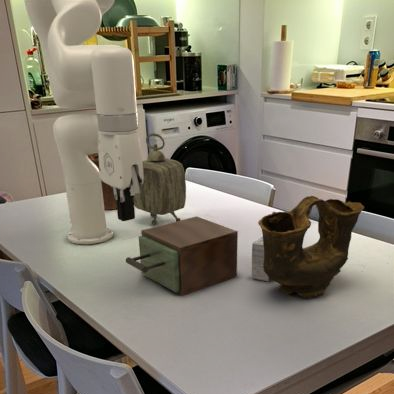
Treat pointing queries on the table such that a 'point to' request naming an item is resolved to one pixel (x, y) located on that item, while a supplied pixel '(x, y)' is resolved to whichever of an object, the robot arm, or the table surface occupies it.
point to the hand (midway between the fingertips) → (126, 219)
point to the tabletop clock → (161, 184)
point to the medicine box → (258, 261)
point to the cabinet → (199, 251)
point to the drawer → (157, 263)
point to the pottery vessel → (313, 255)
